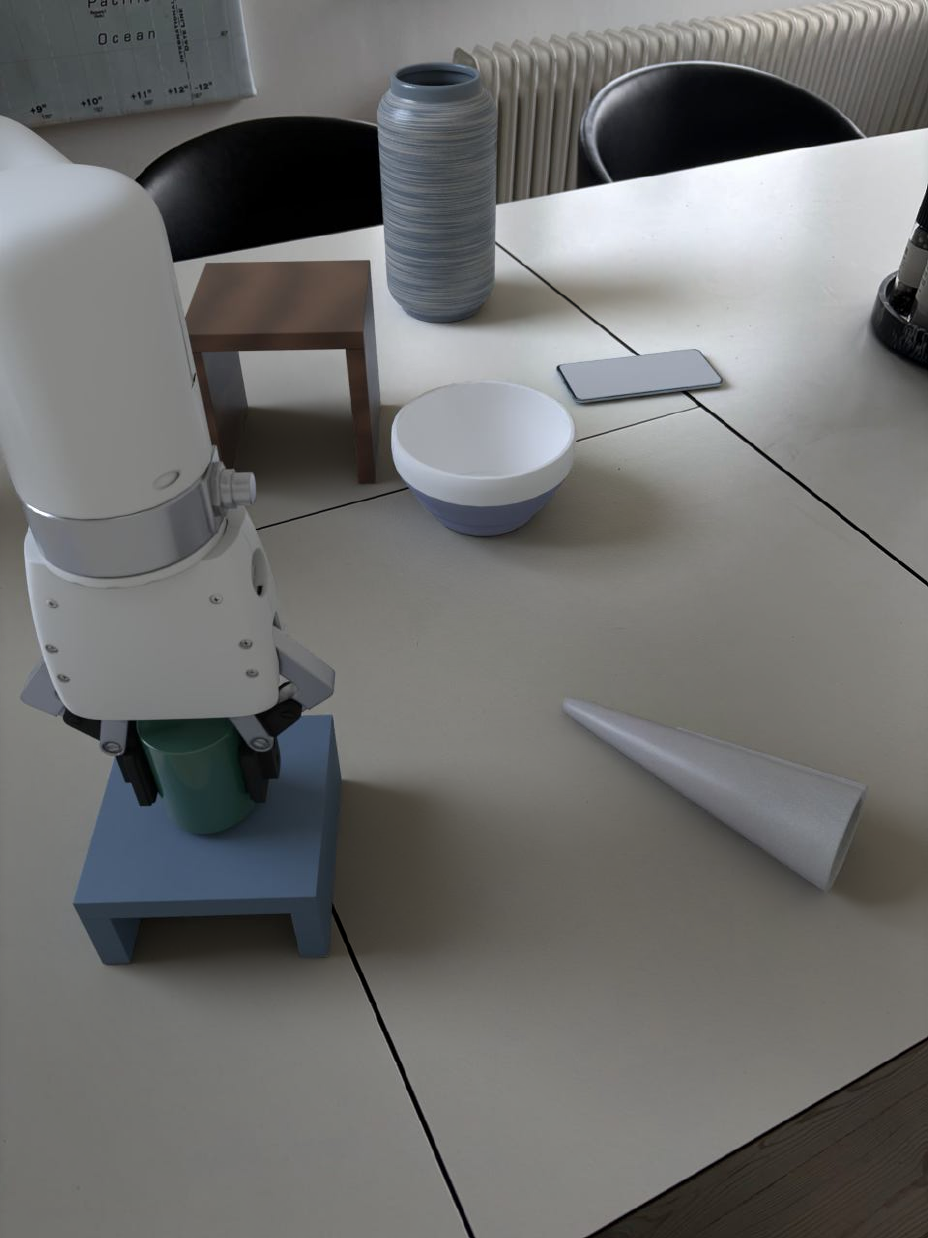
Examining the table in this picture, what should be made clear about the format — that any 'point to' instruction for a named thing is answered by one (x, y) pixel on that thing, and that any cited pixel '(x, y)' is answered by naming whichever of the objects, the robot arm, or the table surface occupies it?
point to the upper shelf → (284, 338)
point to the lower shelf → (220, 854)
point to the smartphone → (638, 375)
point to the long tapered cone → (743, 789)
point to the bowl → (483, 453)
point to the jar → (197, 771)
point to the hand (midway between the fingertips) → (207, 780)
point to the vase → (438, 189)
